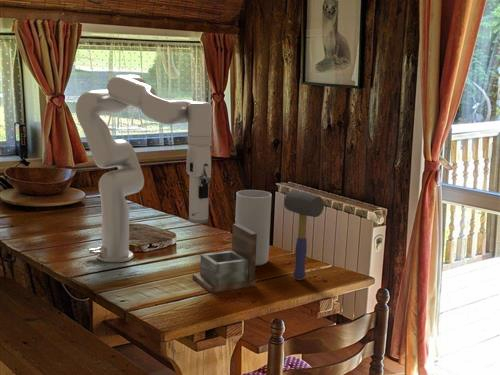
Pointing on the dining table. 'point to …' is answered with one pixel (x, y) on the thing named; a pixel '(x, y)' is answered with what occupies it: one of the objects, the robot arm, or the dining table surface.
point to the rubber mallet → (302, 223)
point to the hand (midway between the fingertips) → (199, 195)
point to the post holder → (230, 263)
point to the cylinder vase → (255, 219)
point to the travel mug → (197, 201)
